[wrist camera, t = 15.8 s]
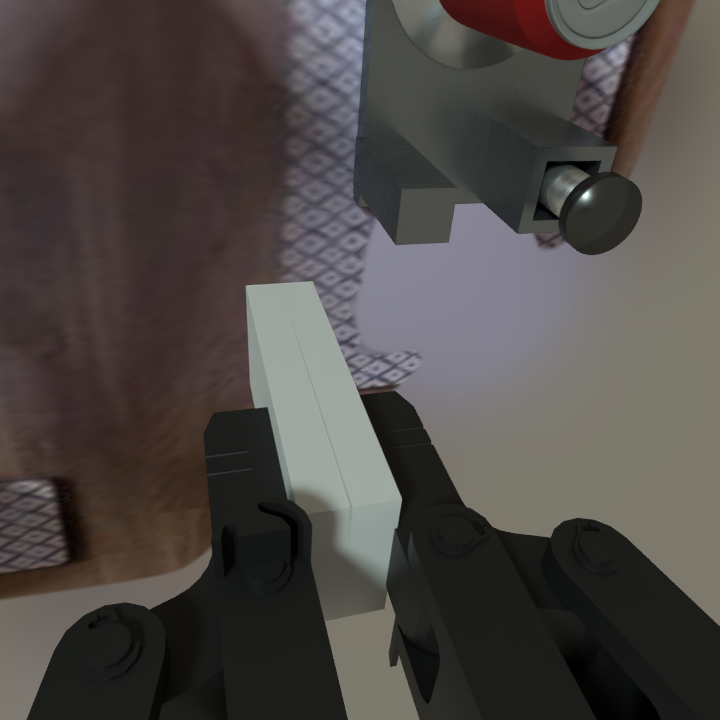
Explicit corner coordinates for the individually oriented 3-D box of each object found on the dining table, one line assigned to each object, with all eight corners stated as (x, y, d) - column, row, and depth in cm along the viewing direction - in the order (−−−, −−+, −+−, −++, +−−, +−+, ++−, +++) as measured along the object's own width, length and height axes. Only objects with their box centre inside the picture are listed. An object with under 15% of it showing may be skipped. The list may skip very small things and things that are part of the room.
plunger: (490, 197, 41) (558, 256, 34) (504, 129, 38) (581, 178, 31) (548, 195, 42) (626, 253, 35) (565, 129, 39) (653, 177, 32)
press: (346, 198, 41) (392, 270, 33) (369, -202, 29) (450, -245, 21) (538, 193, 45) (623, 256, 36) (626, -166, 33) (780, -190, 25)
